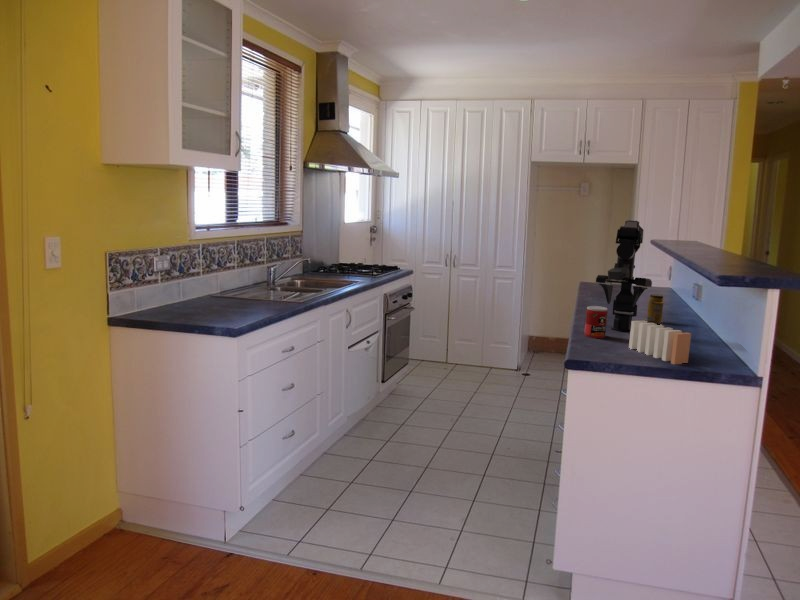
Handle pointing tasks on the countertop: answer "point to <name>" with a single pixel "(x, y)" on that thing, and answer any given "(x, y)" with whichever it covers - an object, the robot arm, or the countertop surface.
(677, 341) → the domino
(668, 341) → the domino
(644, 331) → the domino
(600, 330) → the canned food
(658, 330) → the domino
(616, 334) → the countertop surface
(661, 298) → the condiment
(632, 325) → the domino
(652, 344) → the domino
